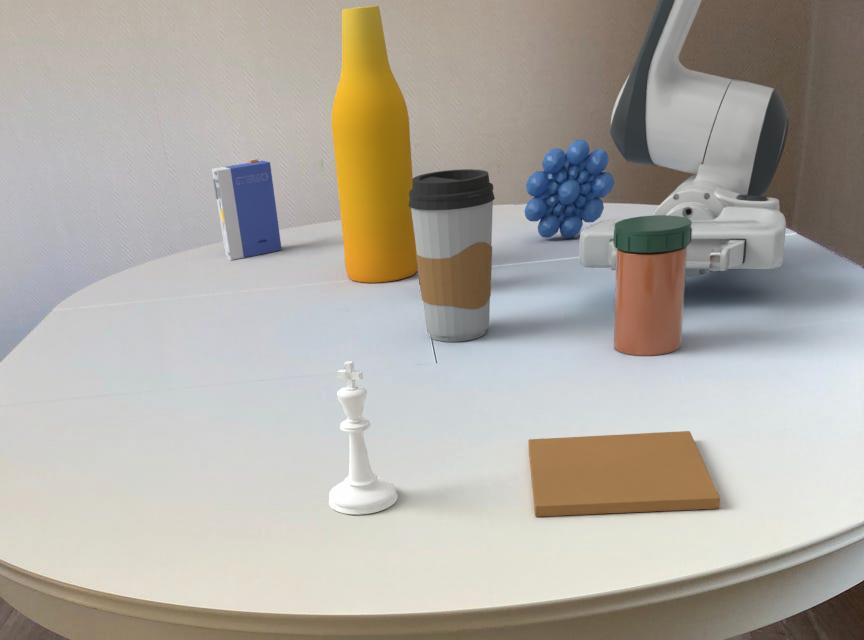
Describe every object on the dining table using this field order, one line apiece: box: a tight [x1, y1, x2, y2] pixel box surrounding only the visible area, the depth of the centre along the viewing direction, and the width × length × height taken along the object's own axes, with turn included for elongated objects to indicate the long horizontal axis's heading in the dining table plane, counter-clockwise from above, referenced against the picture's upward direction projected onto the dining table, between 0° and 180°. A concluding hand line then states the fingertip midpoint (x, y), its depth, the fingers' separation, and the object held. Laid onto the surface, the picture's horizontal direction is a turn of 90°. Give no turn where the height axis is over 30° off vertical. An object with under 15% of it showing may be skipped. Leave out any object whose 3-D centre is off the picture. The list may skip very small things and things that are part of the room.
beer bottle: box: [330, 5, 418, 284], centre depth 126 cm, size 9×9×29 cm
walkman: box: [211, 158, 283, 261], centre depth 147 cm, size 8×3×12 cm, turn 117°
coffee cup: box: [409, 168, 496, 343], centre depth 104 cm, size 8×8×15 cm
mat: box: [527, 430, 721, 518], centre depth 75 cm, size 12×12×1 cm
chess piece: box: [328, 360, 399, 516], centre depth 73 cm, size 5×5×10 cm
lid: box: [614, 215, 692, 253], centre depth 94 cm, size 7×7×2 cm
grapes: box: [524, 138, 615, 239], centre depth 139 cm, size 12×7×12 cm, turn 88°
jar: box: [613, 246, 687, 357], centre depth 97 cm, size 6×6×10 cm
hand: (666, 262), depth 102 cm, fingers open, 8 cm apart
